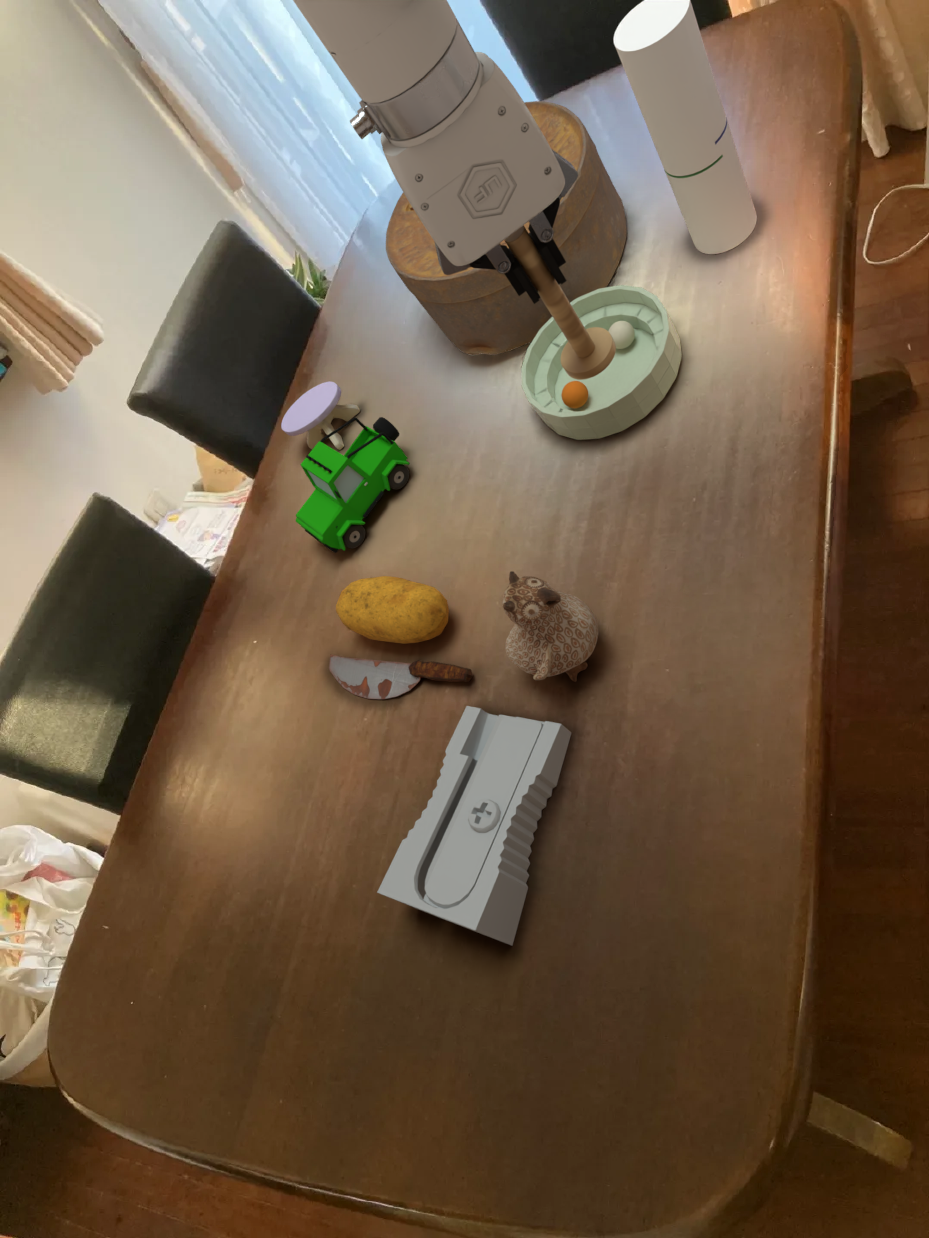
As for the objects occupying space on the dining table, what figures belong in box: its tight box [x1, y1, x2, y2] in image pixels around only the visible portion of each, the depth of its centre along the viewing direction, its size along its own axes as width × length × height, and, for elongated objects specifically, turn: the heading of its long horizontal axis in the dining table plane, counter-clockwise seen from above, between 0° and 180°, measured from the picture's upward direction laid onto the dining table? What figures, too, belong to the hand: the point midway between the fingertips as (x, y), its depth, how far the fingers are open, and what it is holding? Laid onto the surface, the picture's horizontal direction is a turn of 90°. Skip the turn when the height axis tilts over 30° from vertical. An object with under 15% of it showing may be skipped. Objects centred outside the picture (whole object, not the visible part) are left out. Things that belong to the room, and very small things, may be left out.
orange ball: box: [562, 381, 588, 408], centre depth 93 cm, size 3×3×3 cm
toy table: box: [280, 381, 361, 451], centre depth 114 cm, size 10×9×6 cm
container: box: [385, 100, 628, 356], centre depth 103 cm, size 28×28×15 cm
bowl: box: [520, 284, 683, 441], centre depth 92 cm, size 17×17×5 cm
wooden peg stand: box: [504, 225, 616, 380], centre depth 69 cm, size 5×5×15 cm
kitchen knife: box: [328, 653, 474, 700], centre depth 92 cm, size 21×2×5 cm
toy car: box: [295, 416, 410, 554], centre depth 103 cm, size 8×17×10 cm, turn 136°
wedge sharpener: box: [376, 705, 572, 947], centre depth 76 cm, size 11×20×7 cm, turn 159°
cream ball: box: [608, 321, 635, 349], centre depth 93 cm, size 3×3×3 cm
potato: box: [335, 575, 450, 645], centre depth 92 cm, size 7×14×7 cm, turn 68°
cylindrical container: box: [613, 0, 758, 255], centre depth 84 cm, size 7×7×25 cm
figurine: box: [502, 570, 599, 683], centre depth 76 cm, size 9×10×15 cm
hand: (544, 282), depth 67 cm, fingers closed on wooden peg stand
